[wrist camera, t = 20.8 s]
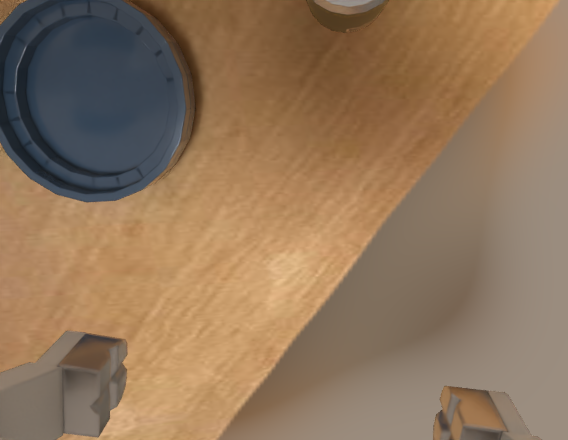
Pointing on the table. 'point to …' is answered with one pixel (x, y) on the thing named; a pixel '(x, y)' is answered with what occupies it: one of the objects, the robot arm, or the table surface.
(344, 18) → the beer can
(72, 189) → the bowl
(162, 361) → the table surface
